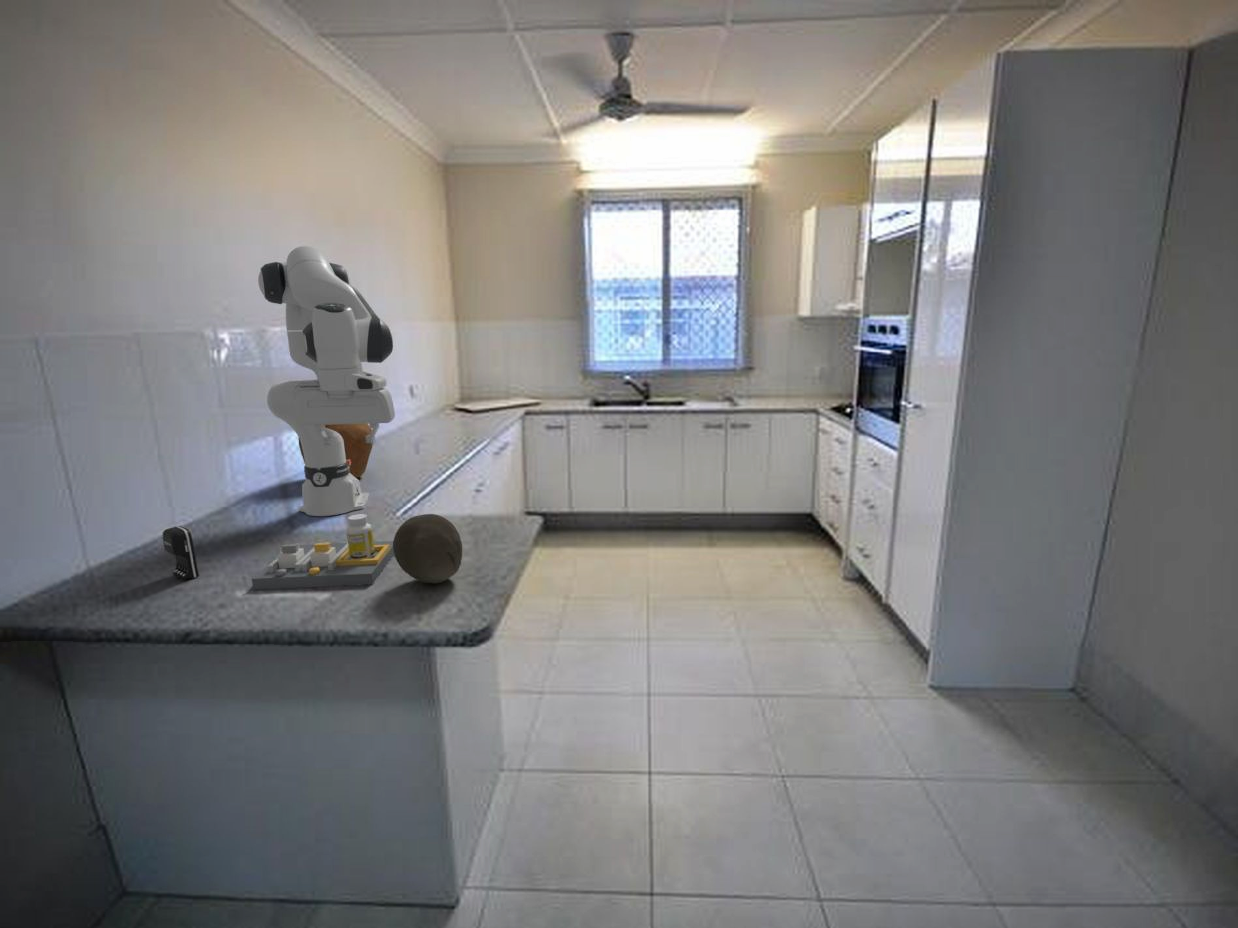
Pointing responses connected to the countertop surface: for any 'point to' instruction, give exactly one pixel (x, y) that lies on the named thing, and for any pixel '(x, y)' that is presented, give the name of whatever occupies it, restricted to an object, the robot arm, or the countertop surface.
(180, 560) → the black electronic device
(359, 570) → the breaker panel
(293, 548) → the breaker
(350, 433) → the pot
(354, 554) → the supplement bottle
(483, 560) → the countertop surface
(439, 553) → the dark brown ball
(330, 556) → the breaker
